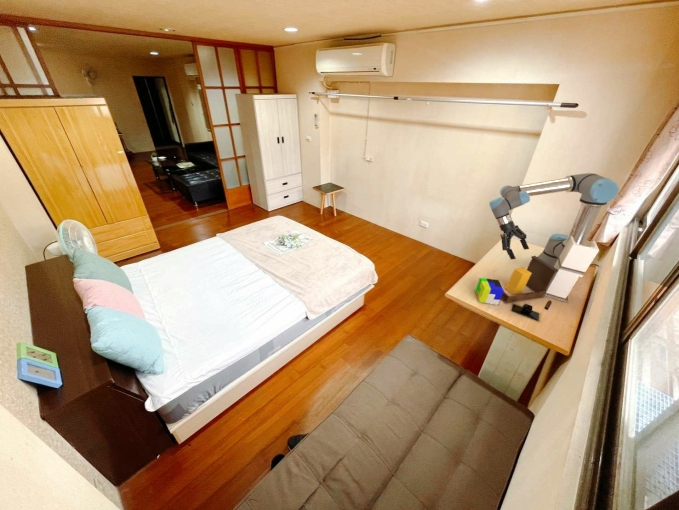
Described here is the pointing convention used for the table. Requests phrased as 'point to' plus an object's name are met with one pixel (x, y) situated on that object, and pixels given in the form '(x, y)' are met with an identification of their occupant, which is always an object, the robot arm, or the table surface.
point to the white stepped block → (570, 268)
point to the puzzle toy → (489, 291)
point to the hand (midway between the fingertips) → (520, 254)
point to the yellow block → (518, 280)
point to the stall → (534, 281)
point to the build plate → (526, 311)
